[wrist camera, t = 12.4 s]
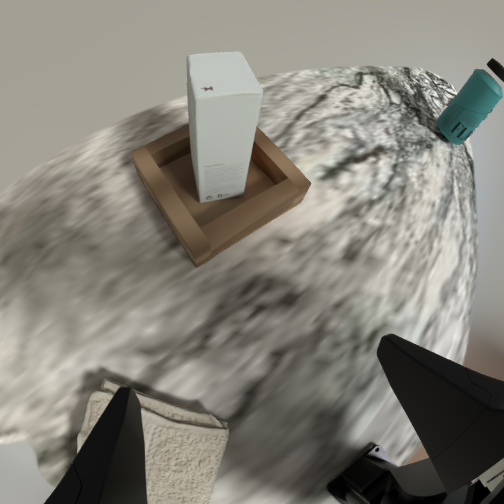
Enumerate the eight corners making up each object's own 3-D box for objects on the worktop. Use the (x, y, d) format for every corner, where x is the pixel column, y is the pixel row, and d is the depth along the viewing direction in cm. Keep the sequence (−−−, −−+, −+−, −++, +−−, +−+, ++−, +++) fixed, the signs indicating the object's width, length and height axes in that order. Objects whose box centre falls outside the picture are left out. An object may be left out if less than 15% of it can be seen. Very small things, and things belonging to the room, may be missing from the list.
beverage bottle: (437, 143, 35) (500, 66, 17) (427, 118, 38) (480, 45, 19) (461, 155, 36) (523, 88, 17) (450, 131, 38) (503, 65, 20)
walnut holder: (300, 202, 27) (311, 183, 24) (196, 267, 23) (193, 253, 20) (233, 128, 29) (235, 106, 26) (138, 174, 26) (130, 153, 23)
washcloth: (232, 412, 20) (234, 421, 17) (195, 548, 13) (194, 564, 10) (101, 370, 19) (86, 372, 17) (85, 511, 13) (74, 522, 10)
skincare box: (244, 197, 25) (266, 93, 14) (199, 204, 24) (192, 99, 13) (231, 149, 27) (242, 49, 16) (190, 155, 26) (184, 53, 15)
